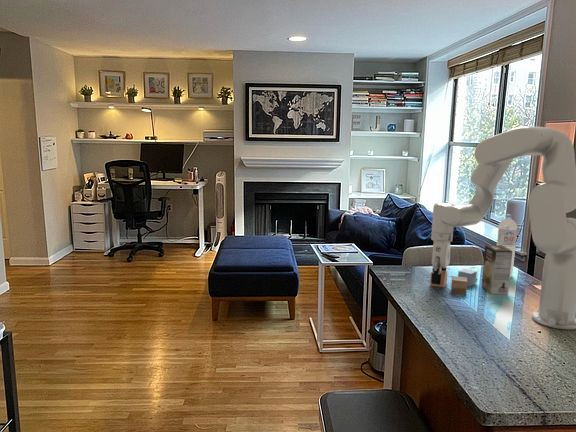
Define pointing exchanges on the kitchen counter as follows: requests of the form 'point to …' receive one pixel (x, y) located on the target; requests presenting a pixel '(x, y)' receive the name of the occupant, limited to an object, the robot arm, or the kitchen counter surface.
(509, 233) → the water bottle
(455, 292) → the walnut cube
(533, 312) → the robot arm
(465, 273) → the slate cube
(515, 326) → the kitchen counter surface
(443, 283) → the terracotta cube
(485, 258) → the coffee box
